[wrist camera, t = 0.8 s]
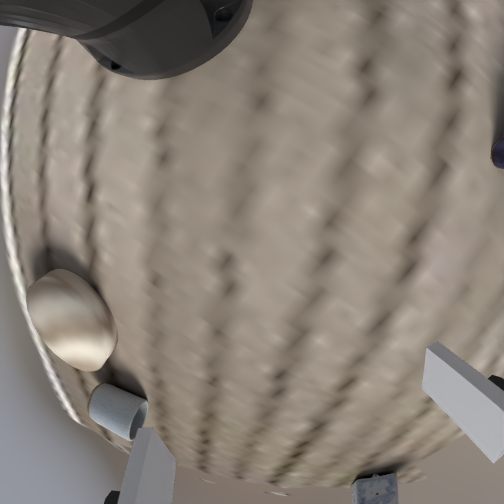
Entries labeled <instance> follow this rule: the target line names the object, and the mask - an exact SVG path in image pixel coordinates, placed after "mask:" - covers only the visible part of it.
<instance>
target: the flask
mask: <svg viewBox="0 0 504 504" xmlns="http://www.w3.org/2000/svg"><path fill="white" fill-rule="evenodd" d="M490 159H492V162H493V164H494V166H496V167H497V168H501V169H504V134H503V137H502V139H501V140H500V141H498V142H497V143H496V144H495V145H494V146H493V147H492V151H491V157H490Z"/></svg>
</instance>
